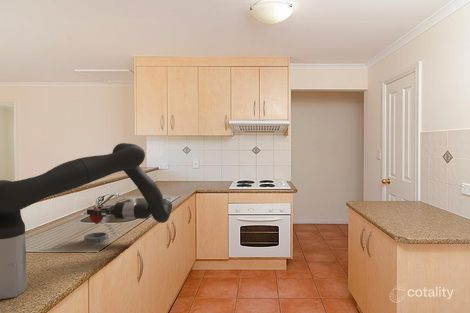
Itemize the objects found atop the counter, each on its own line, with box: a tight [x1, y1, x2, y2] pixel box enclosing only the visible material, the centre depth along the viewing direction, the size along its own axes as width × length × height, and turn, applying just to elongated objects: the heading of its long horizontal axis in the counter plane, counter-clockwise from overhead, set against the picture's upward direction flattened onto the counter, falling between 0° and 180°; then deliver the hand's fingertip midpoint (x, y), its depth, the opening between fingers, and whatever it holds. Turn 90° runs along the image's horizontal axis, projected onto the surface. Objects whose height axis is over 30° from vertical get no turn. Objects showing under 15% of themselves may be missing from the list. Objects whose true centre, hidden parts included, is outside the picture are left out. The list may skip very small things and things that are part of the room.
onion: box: [89, 205, 104, 225], centre depth 145 cm, size 6×6×8 cm
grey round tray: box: [83, 231, 110, 245], centre depth 146 cm, size 10×10×2 cm
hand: (91, 210), depth 145 cm, fingers closed on onion, 5 cm apart
